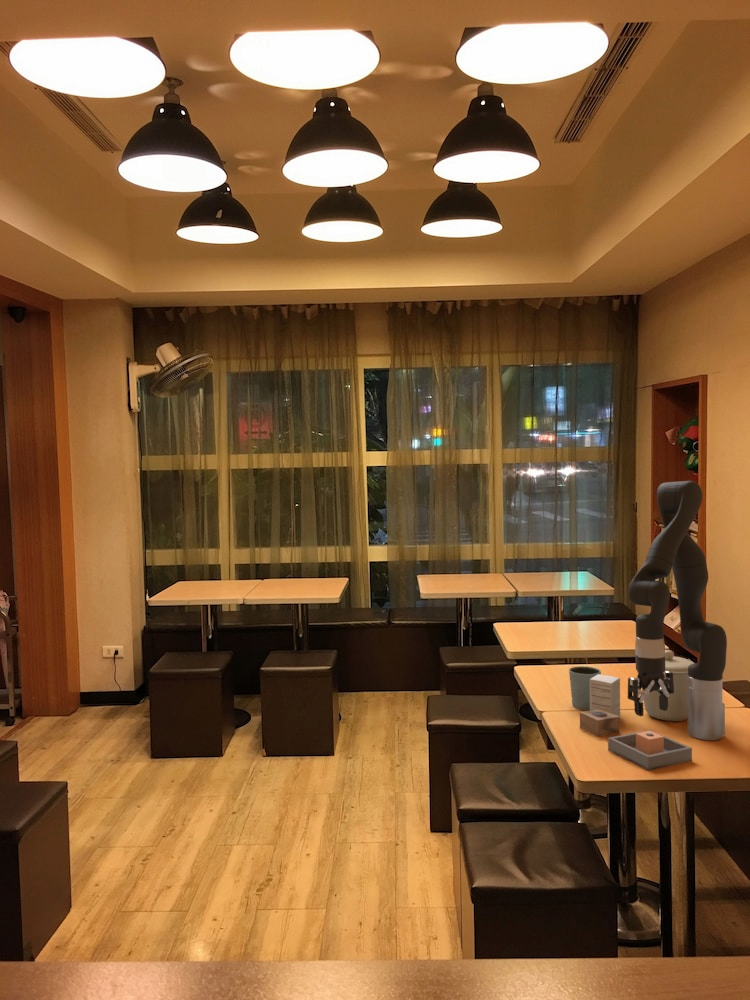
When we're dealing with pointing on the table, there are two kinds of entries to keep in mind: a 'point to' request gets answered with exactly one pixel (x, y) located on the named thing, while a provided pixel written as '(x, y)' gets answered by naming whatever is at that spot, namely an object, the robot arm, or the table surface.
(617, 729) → the walnut block
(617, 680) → the supplement box
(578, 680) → the teal cup
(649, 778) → the table surface
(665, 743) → the charcoal tray
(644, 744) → the terracotta block
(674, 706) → the canister
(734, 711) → the table surface
